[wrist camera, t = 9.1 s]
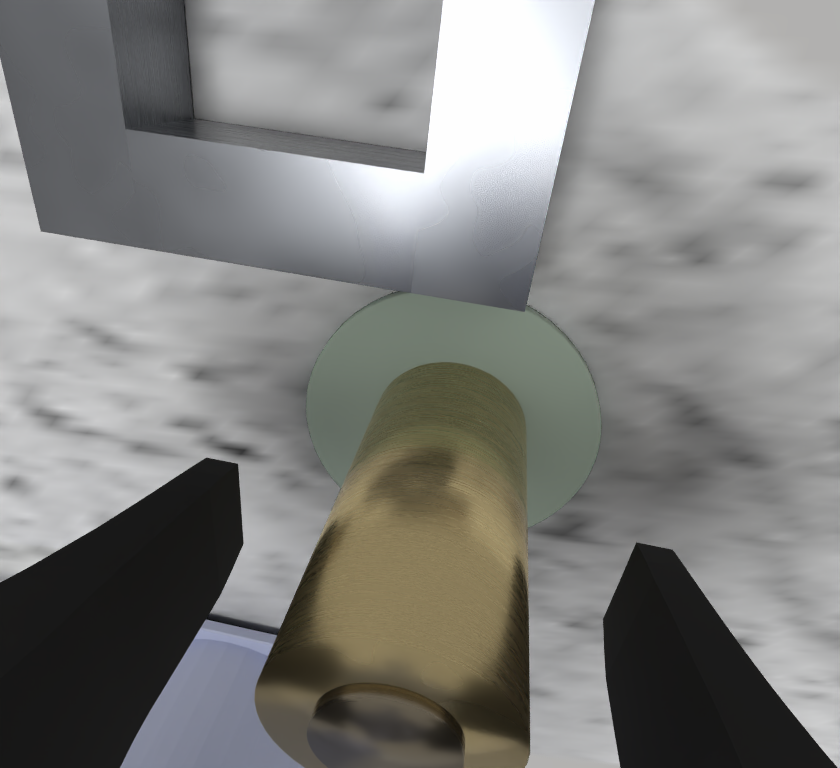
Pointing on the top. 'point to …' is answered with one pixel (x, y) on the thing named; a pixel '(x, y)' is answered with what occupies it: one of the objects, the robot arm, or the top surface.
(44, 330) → the top surface
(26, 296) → the top surface
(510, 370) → the mat
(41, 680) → the robot arm
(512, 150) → the housing
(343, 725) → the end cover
